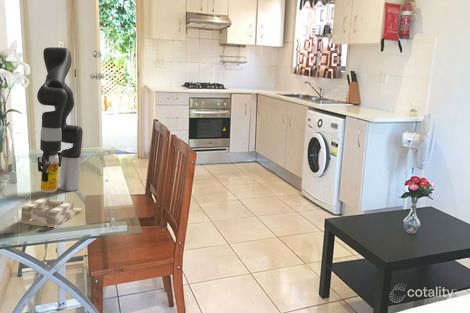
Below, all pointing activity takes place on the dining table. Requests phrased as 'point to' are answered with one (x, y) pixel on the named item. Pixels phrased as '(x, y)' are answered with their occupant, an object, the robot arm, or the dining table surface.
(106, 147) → the dining table surface
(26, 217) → the jig
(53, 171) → the yellow and white bottle
